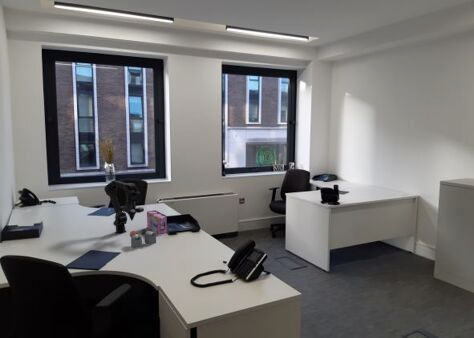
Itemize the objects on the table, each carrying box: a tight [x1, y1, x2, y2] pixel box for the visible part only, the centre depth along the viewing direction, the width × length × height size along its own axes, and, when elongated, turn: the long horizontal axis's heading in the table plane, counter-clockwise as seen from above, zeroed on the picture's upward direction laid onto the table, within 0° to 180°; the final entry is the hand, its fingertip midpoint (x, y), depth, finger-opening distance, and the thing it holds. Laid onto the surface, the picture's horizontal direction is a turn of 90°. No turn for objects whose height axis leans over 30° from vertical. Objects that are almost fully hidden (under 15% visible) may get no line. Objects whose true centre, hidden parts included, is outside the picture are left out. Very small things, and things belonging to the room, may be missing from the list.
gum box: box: [146, 209, 168, 235], centre depth 292 cm, size 24×8×14 cm, turn 35°
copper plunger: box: [129, 230, 139, 239], centre depth 255 cm, size 9×5×5 cm, turn 34°
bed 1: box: [130, 233, 143, 249], centre depth 254 cm, size 6×6×8 cm
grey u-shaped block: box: [143, 230, 157, 246], centre depth 261 cm, size 6×6×8 cm
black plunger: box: [141, 227, 154, 236], centre depth 262 cm, size 9×5×5 cm, turn 49°
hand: (131, 220), depth 277 cm, fingers closed
